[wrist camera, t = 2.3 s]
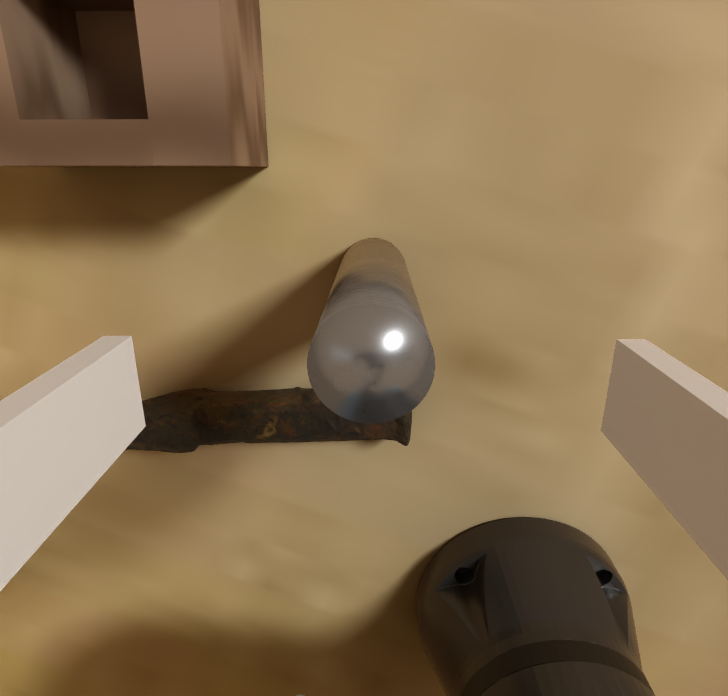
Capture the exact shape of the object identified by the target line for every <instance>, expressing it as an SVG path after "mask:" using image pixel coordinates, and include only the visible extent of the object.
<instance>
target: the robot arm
mask: <svg viewBox="0 0 728 696" xmlns="http://www.w3.org/2000/svg"><path fill="white" fill-rule="evenodd" d="M145 426H146V425H145V418H144V412H143V406H142V399H141V393H140V387H139V380H138V374H137V368H136V362H135V355H134V349H133V343H132V336H103V337H101V338H99V339H98V340H96V341H95V342H93V343H92V344H90V345H88V346H87V347H85V348H84V349H82V350H80V351H79V352H77V353H76V354H74V355H72V356H71V357H69V358H68V359H66V360H64V361H63V362H61V363H60V364H58V365H57V366H55V367H53V368H52V369H50V370H49V371H47V372H45V373H44V374H42V375H41V376H39V377H37V378H36V379H34V380H33V381H31V382H29V383H28V384H26V385H25V386H23V387H22V388H20V389H18V390H17V391H15V392H14V393H12V394H10V395H9V396H7V397H6V398H4V399H2V400H1V401H0V591H1V590H2V589H3V588H4V587H5V585H6V584H7V583H8V582H9V581H10V580H11V579H12V577H13V576H14V575H15V574H16V573H17V572H18V571H19V570H20V568H21V567H22V566H23V565H24V564H25V563H26V562H27V560H28V559H29V558H30V557H31V556H32V555H33V554H34V552H35V551H36V550H37V549H38V548H39V547H40V546H41V545H42V543H43V542H44V541H45V540H46V539H47V538H48V537H49V535H50V534H51V533H52V532H53V531H54V530H55V529H56V527H57V526H58V525H59V524H60V523H61V522H62V521H63V520H64V518H65V517H66V516H67V515H68V514H69V513H70V512H71V510H72V509H73V508H74V507H75V506H76V505H77V504H78V502H79V501H80V500H81V499H82V498H83V497H84V496H85V495H86V493H87V492H88V491H89V490H90V489H91V488H92V487H93V485H94V484H95V483H96V482H97V481H98V480H99V479H100V477H101V476H102V475H103V474H104V473H105V472H106V471H107V470H108V468H109V467H110V466H111V465H112V464H113V463H114V462H115V460H116V459H117V458H118V457H119V456H120V455H121V454H122V453H123V451H124V450H125V449H126V448H127V447H128V446H129V445H130V443H131V442H132V441H133V440H134V439H135V438H136V437H137V435H138V434H139V433H140V432H141V431H142V430H143V429H144V428H145ZM601 431H602V432H603V434H604V435H605V436H606V437H607V438H608V439H609V441H610V442H611V443H612V444H613V445H614V447H615V448H616V449H617V450H618V451H619V452H620V454H621V455H622V456H623V457H624V458H625V460H626V461H627V462H628V463H629V464H630V465H631V467H632V468H633V469H634V470H635V471H636V472H637V474H638V475H639V476H640V477H641V478H642V480H643V481H644V482H645V483H646V484H647V485H648V487H649V488H650V489H651V490H652V491H653V493H654V494H655V495H656V496H657V497H658V498H659V500H660V501H661V502H662V503H663V504H664V505H665V507H666V508H667V509H668V510H669V511H670V513H671V514H672V515H673V516H674V517H675V518H676V520H677V521H678V522H679V523H680V524H681V526H682V527H683V528H684V529H685V530H686V531H687V533H688V534H689V535H690V536H691V537H692V538H693V540H694V541H695V542H696V543H697V544H698V546H699V547H700V548H701V549H702V550H703V551H704V553H705V554H706V555H707V556H708V557H709V559H710V560H711V561H712V562H713V563H714V564H715V566H716V567H717V568H718V569H719V570H720V572H721V573H722V574H723V575H724V576H725V577H726V579H727V580H728V392H726V391H725V390H723V389H722V388H720V387H719V386H717V385H716V384H714V383H712V382H711V381H709V380H708V379H706V378H705V377H703V376H702V375H700V374H699V373H697V372H695V371H694V370H692V369H691V368H689V367H688V366H686V365H685V364H683V363H682V362H680V361H678V360H677V359H675V358H674V357H672V356H671V355H669V354H668V353H666V352H664V351H663V350H661V349H660V348H658V347H657V346H655V345H654V344H652V343H651V342H649V341H647V340H646V339H617V340H616V346H615V352H614V358H613V364H612V369H611V375H610V381H609V387H608V393H607V398H606V404H605V410H604V416H603V422H602V427H601ZM417 613H418V624H419V632H420V637H421V641H422V644H423V647H424V650H425V652H426V654H427V656H428V658H429V660H430V662H431V664H432V666H433V668H434V670H435V673H436V675H437V677H438V679H439V681H440V683H441V685H442V687H443V689H444V691H445V693H446V695H447V696H655V694H654V693H653V691H652V689H651V687H650V685H649V683H648V681H647V679H646V677H645V675H644V673H643V671H642V666H641V660H640V654H639V649H638V643H637V637H636V631H635V625H634V619H633V613H632V607H631V602H630V598H629V594H628V592H627V589H626V586H625V584H624V582H623V580H622V578H621V576H620V575H619V573H618V571H617V570H616V568H615V566H614V565H613V563H612V561H611V560H610V558H609V556H608V555H607V554H606V552H605V551H604V550H603V549H602V547H601V546H600V545H599V544H598V543H597V542H595V541H594V540H593V539H592V538H591V537H589V536H588V535H586V534H585V533H583V532H581V531H580V530H578V529H576V528H574V527H571V526H569V525H566V524H563V523H560V522H557V521H553V520H548V519H542V518H528V517H523V518H509V519H502V520H497V521H493V522H489V523H486V524H483V525H480V526H478V527H475V528H473V529H471V530H469V531H467V532H465V533H463V534H461V535H459V536H458V537H456V538H455V539H453V540H452V541H451V542H449V543H448V544H447V545H446V546H444V547H443V548H442V549H441V550H440V551H439V552H438V553H437V554H436V555H435V557H434V558H433V559H432V560H431V562H430V563H429V565H428V566H427V568H426V569H425V571H424V573H423V575H422V578H421V580H420V584H419V587H418V592H417ZM296 696H306V695H302V694H300V695H299V694H298V695H296Z"/></svg>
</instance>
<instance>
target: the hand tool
mask: <svg viewBox="0 0 728 696" xmlns="http://www.w3.org/2000/svg"><path fill="white" fill-rule="evenodd" d="M142 406H143V412H144V418H145V425H146V426H145V428H144V429H143V430H142V431H141V432H140V433H139V434H138V435H137V437H136V438H135V439H134V440H133V441H132V442H131V443H130V445H129V446H128V447H127V448H126V450H128V449H134V450H149V451H150V450H155V451H164V452H172V453H185V452H192V451H194V450H196V448H197V447H198V446H199V445H205V444H207V445H213V444H223V443H237V442H245V443H272V442H281V443H286V442H312V441H348V440H371V439H375V440H376V439H386V440H395V441H398V442H399V443H401V444H403V445H405V446H407V445H408V443H409V441H410V433H411V423H412V410H411V411H410V412H409V413H407V414H405V415H404V416H402V417H400V418H397V419H395V420H392V421H388V422H384V423H376V424H367V423H359V422H354V421H351V420H348V419H345V418H343V417H341V416H339V415H337V414H336V413H334V412H333V411H331V410H330V409H329V408H327V407H326V406H325V405H324V404H323V403H322V402H321V400H320V399H319V398H318V396H317V395H316V393H315V391H314V390H313V389H302V388H300V387H296V388H293V389H281V390H261V391H237V392H210V391H208V390H206V389H192V390H186V391H179V392H174V393H170V394H167V395H163V396H159V397H155V398H152V399H148V400H145V401H142Z"/></svg>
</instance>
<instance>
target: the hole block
mask: <svg viewBox="0 0 728 696" xmlns="http://www.w3.org/2000/svg"><path fill="white" fill-rule="evenodd" d="M0 166H44V167H268V151H267V134H266V116H265V99H264V81H263V64H262V46H261V29H260V11H259V0H0Z"/></svg>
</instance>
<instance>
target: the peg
mask: <svg viewBox="0 0 728 696" xmlns="http://www.w3.org/2000/svg"><path fill="white" fill-rule="evenodd" d="M307 369H308V376H309V380H310V383H311V385H312V388H313V390H314V391H315V393H316V395H317V396H318V398H319V399H320V400H321V402H322V403H323V404H324V405H325V406H326V407H327V408H329V409H330V410H331V411H333V412H334V413H336V414H337V415H339V416H341V417H343V418H345V419H348V420H351V421H354V422H359V423H367V424H376V423H384V422H388V421H392V420H395V419H397V418H400V417H402V416H404V415H405V414H407V413H409V412H410V411H411V410H413V409H414V408H415V407H416V406H417V405H418V404H419V403H420V402H421V401H422V400H423V398H424V397H425V396H426V394H427V392H428V390H429V388H430V386H431V384H432V381H433V377H434V371H435V357H434V351H433V348H432V345H431V342H430V339H429V335H428V332H427V329H426V326H425V323H424V320H423V317H422V314H421V311H420V307H419V304H418V301H417V298H416V295H415V292H414V289H413V286H412V283H411V280H410V276H409V273H408V270H407V267H406V264H405V261H404V258H403V256H402V254H401V253H400V251H399V250H398V249H397V248H396V247H395V246H394V245H393V244H391V243H390V242H388V241H386V240H383V239H378V238H368V239H364V240H361V241H359V242H357V243H355V244H354V245H352V246H351V247H350V248H349V249H348V250H347V251H346V253H345V255H344V256H343V259H342V261H341V264H340V267H339V269H338V272H337V275H336V277H335V280H334V283H333V285H332V288H331V291H330V294H329V296H328V299H327V302H326V304H325V307H324V310H323V312H322V315H321V318H320V321H319V323H318V326H317V329H316V331H315V334H314V337H313V339H312V342H311V345H310V348H309V352H308V358H307Z"/></svg>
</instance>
